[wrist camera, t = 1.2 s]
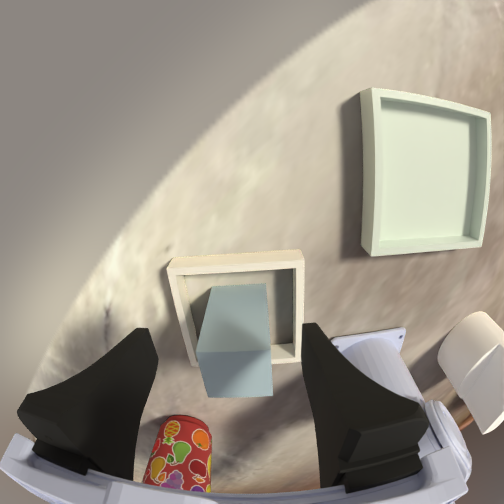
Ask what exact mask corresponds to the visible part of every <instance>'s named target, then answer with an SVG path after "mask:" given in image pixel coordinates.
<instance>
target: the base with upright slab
mask: <svg viewBox="0 0 504 504" xmlns="http://www.w3.org/2000/svg"><path fill="white" fill-rule="evenodd" d="M437 359H438V363H439V365H440V366H441V368H442V370H443V371H444V373H445V374H446V376H447V378H448V379H449V381H450V382H451V384H452V386H453V387H454V389H455V391H456V392H457V394H458V396H459V397H460V398H462V399H463V400H464V402H465V404H466V405H467V407H468V409H469V411H470V412H471V414H472V416H473V418H474V419H475V421H476V423H477V425H478V427H479V429H480V431H481V432H482V434H485V433H488V432H490V431H492V430H494V429H495V428H496V427H497V426H498V425H499V424H500V423H501V422H502V421H503V420H504V331H503V330H502V329H501V328H500V327H499V326H498V325H497V324H496V323H495V322H494V321H493V320H492V319H491V318H490V317H489V316H488V315H487V314H486V313H485V312H481V311H480V312H475V313H473V314H471V315H468V316H467V317H465V318H464V319H463V320H461V321H460V322H459V323H458V324H457V325H456V326H455V327H454V328H453V329H452V330H451V331H450V333H449V334H448V335H447V336H446V338H445V340H444V341H443V343H442V345H441V347H440V349H439V352H438V357H437Z"/></svg>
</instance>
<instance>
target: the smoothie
mask: <svg viewBox="0 0 504 504" xmlns="http://www.w3.org/2000/svg"><path fill="white" fill-rule="evenodd" d="M211 453H212V436H211V434H210V432H209V429H208V426H207V425H206V424H205V423H203V422H202V421H201V420H198V419H196V418H193V417H189V416H183V415H176V416H171V417H169V418H168V419H167V420H166V422H164V423H163V424H162V425H161V427H160V430H159V432H158V435H157V438H156V441H155V444H154V447H153V450H152V453H151V456H150V459H149V462H148V465H147V468H146V471H145V474H144V477H143V480H142V483H144V484H149V485H154V486H160V487H166V488H172V489H179V490H187V491H197V492H208V493H210V492H211Z"/></svg>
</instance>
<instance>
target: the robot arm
mask: <svg viewBox="0 0 504 504" xmlns="http://www.w3.org/2000/svg"><path fill="white" fill-rule="evenodd" d="M405 333H406V330H405V328H404V327H400V328H395V329H389V330H383V331H377V332H370V333H364V334H357V335H350V336H342V337H335V338H333V339H332V340H331V341H330V340H329V339H328V338H327V336H326V335H325V334H324V333H323V331H322V330H321V328H320V327H319V326H318V324H316V323H305V324H302V340H301V363H302V371H303V377H304V381H305V385H306V389H307V393H308V396H309V400H310V404H311V408H312V412H313V417H314V423H315V431H316V439H317V448H318V459H319V471H320V487H321V489H314V490H306V491H297V492H285V493H268V494H225V493H208V492H197V491H187V490H179V489H172V488H166V487H160V486H154V485H149V484H144V483H139V482H135V481H133V472H134V458H135V448H136V442H137V435H138V430H139V425H140V420H141V416H142V413H143V410H144V407H145V404H146V401H147V398H148V396H149V393H150V390H151V387H152V384H153V382H154V379H155V375H156V371H157V366H158V360H159V359H158V356H157V353H156V350H155V347H154V344H153V341H152V338H151V335H150V332H149V329H148V328H136V329H135V330H134V331H132V332H131V333H130V334H129V335H128V336H127V337H125V338H124V339H123V340H122V341H121V342H120V343H118V344H117V345H116V346H115V347H114V348H113V349H112V350H110V351H109V352H108V353H107V354H105V355H104V356H103V357H102V358H100V359H99V360H98V361H96V362H95V363H94V364H92V365H91V366H90V367H88V368H87V369H85V370H83V371H82V372H80V373H79V374H77V375H75V376H73V377H71V378H69V379H67V380H66V381H64V382H62V383H59V384H57V385H55V386H52V387H50V388H47V389H44V390H41V391H37V392H34V393H30V394H27V396H26V397H25V399H24V400H23V402H22V404H21V405H20V407H19V409H18V410H17V414H18V417H19V419H20V420H21V421H22V423H23V424H24V425H25V426H26V427H27V429H29V431H30V432H31V433H32V434H33V435H34V436H35V437H36V438H37V440H36V442H35V443H34V442H33V441H31V440H30V439H28V438H26V437H24V436H22V435H20V434H18V433H15V435H14V437H13V438H12V440H11V442H10V444H9V446H8V448H7V450H6V452H5V454H4V456H3V458H2V460H1V462H0V469H1V470H2V471H4V472H5V473H6V474H7V475H8V476H10V477H11V478H12V479H13V480H15V481H16V482H17V483H19V484H20V485H22V486H23V487H24V488H25V489H27V490H28V491H30V492H31V493H33V494H35V495H36V496H38V497H40V498H42V499H44V500H46V501H47V502H49V503H51V504H455V503H454V501H455V500H457V499H458V498H459V497H461V496H463V495H464V494H465V493H467V491H468V488H467V485H466V481H467V480H468V478H469V476H470V474H471V465H472V460H471V456H470V454H469V452H468V450H467V448H466V444H465V441H464V439H463V437H462V434H461V432H460V430H459V428H458V426H457V425H456V423H455V421H454V419H453V418H452V416H451V414H450V413H449V411H448V410H447V409H446V407H445V406H444V405H443V404H442V403H441V402H440V401H434V400H429V401H428V402H427V403H425V401H424V399H423V397H422V395H421V393H420V391H419V389H418V387H417V386H416V384H415V382H414V380H413V378H412V376H411V374H410V372H409V371H408V369H407V367H406V365H405V363H404V361H403V360H402V358H401V356H400V354H399V353H400V350H401V347H402V343H403V340H404V337H405ZM400 335H401V336H400ZM336 345H337V346H336ZM335 346H336V347H335Z"/></svg>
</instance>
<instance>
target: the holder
mask: <svg viewBox="0 0 504 504" xmlns="http://www.w3.org/2000/svg"><path fill="white" fill-rule="evenodd" d="M289 268H293V343H289V344H276V345H271V364H281V363H293V362H301V340H302V324H303V318H304V258H303V255H302V253H301V250H300V249H295V250H280V251H265V252H250V253H235V254H220V255H205V256H190V257H175V258H173V259H172V260H171V262H170V264H169V265H168V267H167V268H166V269H167V273H168V278H169V283H170V287H171V291H172V296H173V300H174V304H175V308H176V312H177V316H178V320H179V324H180V328H181V331H182V335H183V339H184V342H185V346H186V350H187V353H188V357H189V360H190V363H191V366H199V363H198V359H197V356H196V348H197V344H198V339H197V335H196V330H195V326H194V322H193V317H192V313H191V308H190V304H189V299H188V294H187V289H186V284H185V279H184V275H193V274H211V273H228V272H244V271H260V270H275V269H289Z"/></svg>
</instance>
